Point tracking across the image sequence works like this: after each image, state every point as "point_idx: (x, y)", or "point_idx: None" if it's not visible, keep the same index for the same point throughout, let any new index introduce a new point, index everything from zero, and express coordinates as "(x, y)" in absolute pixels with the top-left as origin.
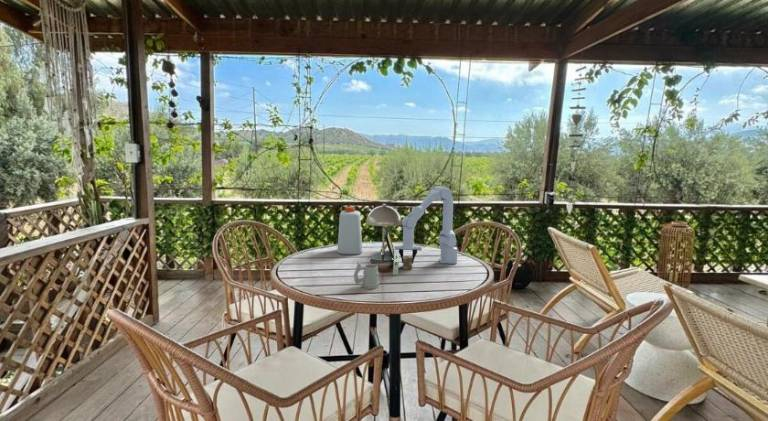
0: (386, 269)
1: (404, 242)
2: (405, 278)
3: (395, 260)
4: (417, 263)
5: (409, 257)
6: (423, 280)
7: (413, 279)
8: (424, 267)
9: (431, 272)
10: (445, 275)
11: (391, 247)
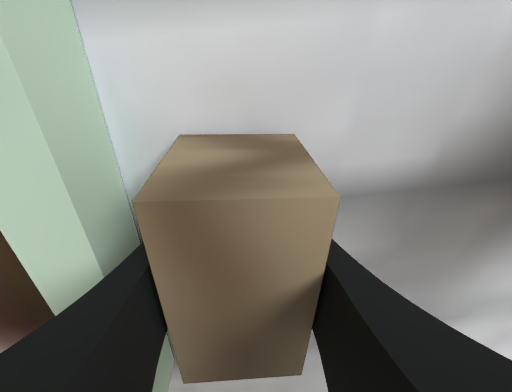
0: (34, 286)
1: None
2: (228, 385)
3: (29, 230)
4: (398, 21)
5: (272, 288)
6: (327, 389)
7: (274, 388)
8: (425, 192)
9: (427, 296)
10: (492, 326)
11: None
